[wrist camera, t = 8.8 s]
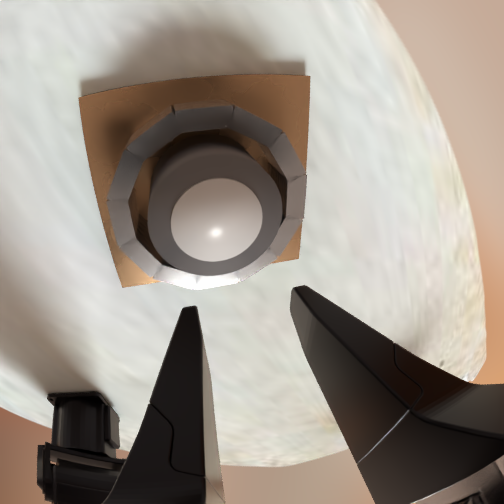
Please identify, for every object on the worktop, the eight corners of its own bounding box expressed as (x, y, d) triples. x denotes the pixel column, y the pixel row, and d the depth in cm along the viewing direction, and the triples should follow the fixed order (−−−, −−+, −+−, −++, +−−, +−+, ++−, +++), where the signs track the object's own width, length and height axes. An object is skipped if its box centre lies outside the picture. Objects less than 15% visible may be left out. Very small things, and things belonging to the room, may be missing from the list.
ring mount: (122, 281, 19) (119, 318, 16) (81, 96, 12) (61, 104, 10) (295, 253, 22) (315, 284, 19) (305, 75, 15) (336, 79, 12)
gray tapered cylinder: (159, 241, 18) (160, 287, 14) (143, 142, 14) (136, 166, 11) (258, 226, 19) (281, 267, 15) (257, 129, 15) (286, 149, 12)
